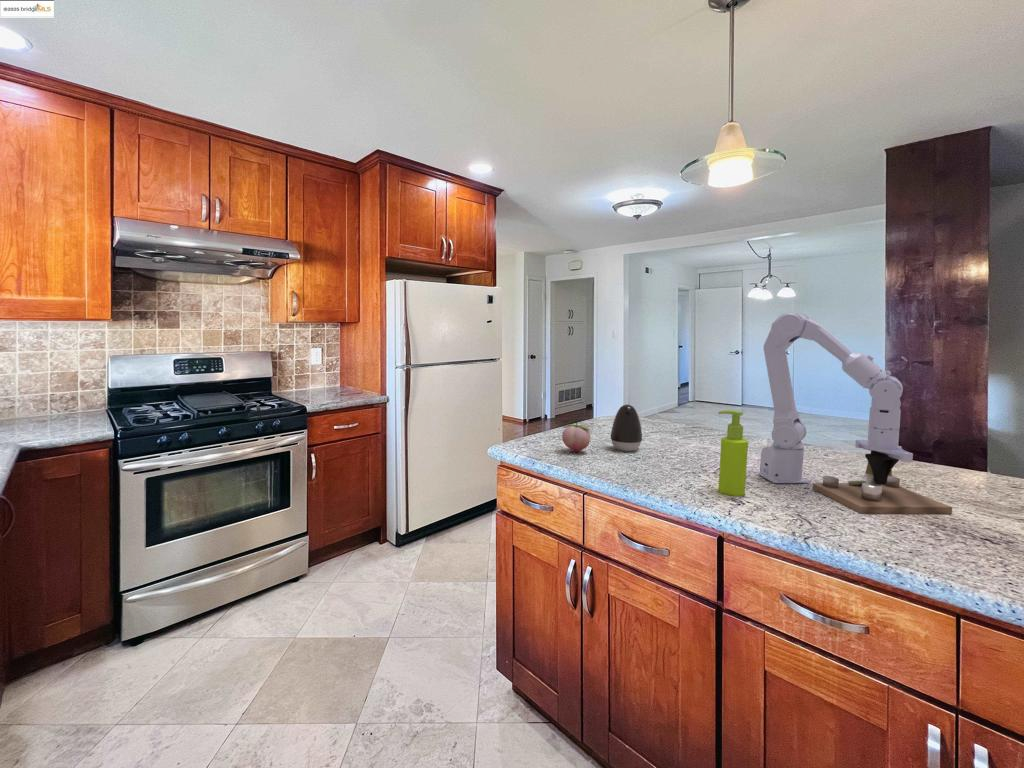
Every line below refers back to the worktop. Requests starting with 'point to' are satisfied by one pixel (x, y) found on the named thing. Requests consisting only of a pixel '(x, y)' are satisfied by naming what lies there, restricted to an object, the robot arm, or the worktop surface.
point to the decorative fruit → (576, 437)
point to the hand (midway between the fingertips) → (879, 484)
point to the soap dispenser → (733, 458)
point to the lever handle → (871, 489)
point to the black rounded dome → (626, 429)
